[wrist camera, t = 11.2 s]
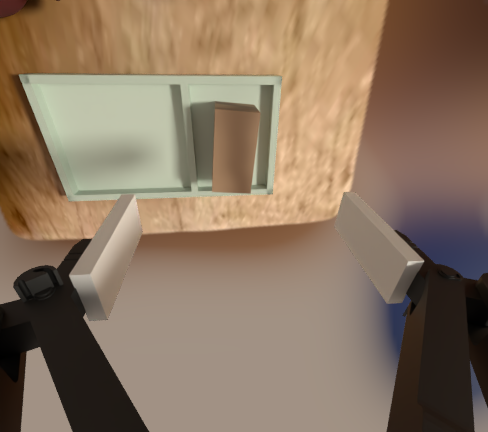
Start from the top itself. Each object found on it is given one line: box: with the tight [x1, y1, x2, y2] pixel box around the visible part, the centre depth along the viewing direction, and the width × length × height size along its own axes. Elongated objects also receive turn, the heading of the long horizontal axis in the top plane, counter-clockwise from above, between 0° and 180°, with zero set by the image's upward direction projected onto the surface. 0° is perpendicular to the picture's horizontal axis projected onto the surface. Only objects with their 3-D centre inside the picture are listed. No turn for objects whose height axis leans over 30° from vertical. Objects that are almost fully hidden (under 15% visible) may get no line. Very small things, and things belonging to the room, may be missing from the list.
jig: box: [19, 73, 282, 201], centre depth 31 cm, size 14×26×2 cm, turn 89°
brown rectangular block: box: [212, 101, 261, 194], centre depth 30 cm, size 4×9×5 cm, turn 174°
